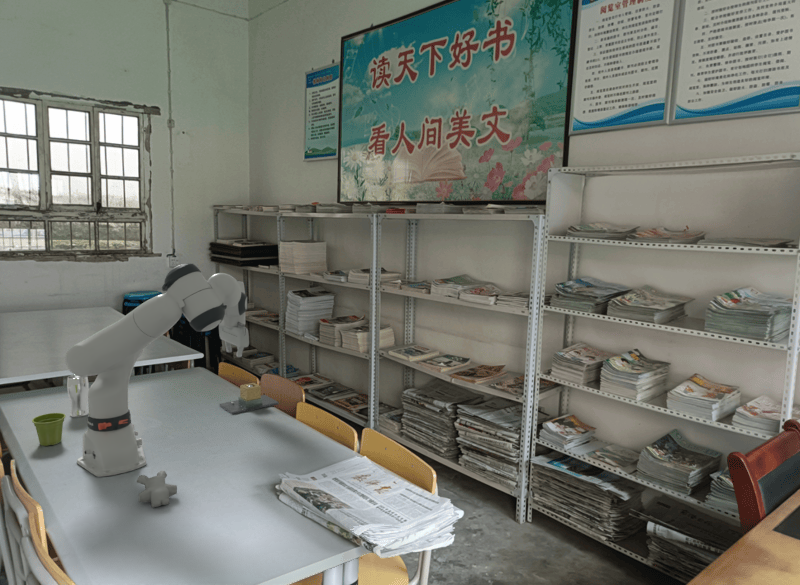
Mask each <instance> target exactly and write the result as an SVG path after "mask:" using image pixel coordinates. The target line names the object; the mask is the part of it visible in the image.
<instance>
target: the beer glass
mask: <svg viewBox="0 0 800 585" xmlns="http://www.w3.org/2000/svg"><path fill="white" fill-rule="evenodd" d="M88 378H89V376H76V375H74V374H71V375H68V376H67V382H66V383H67V384H66V388H67V389H66V390H67V395H68V399H69V402H70V414H69V416H70V417H72V418H81V417H85V416H88V414H89V407H88V391H89V388H90V386H89V385H90V384H89V379H88Z"/></svg>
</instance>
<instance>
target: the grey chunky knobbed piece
mask: <svg viewBox="0 0 800 585" xmlns="http://www.w3.org/2000/svg"><path fill="white" fill-rule="evenodd" d="M167 476H168V473H167V472H166V471H165V470H160V471H158V472H157V473H156V475H155V476H152V477H151V476H150V477H148V476H147V475H145V474H141V475H138V477H137V479H136V483H138V484H141V485H143V486H144V490H143V491H141V492H139V493H138V502H139V503H150V504H151V505H150V507H151V508H157V507H161V506H166V505H169V504H170V497H173V496H175V495H177V494H178V485H176V484H169V483H166V478H167Z"/></svg>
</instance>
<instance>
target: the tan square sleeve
mask: <svg viewBox="0 0 800 585" xmlns="http://www.w3.org/2000/svg"><path fill="white" fill-rule="evenodd" d="M248 385H253V387H249V388H248ZM239 386H240V388H239V394H240V395H239V397H241V398H243V399H244V400H246V401H250V400H254V399H259V398H261V395H262V392H261V388H262V387H261V385H259V384H257V383H255V382H251V383H245V384H241V385H239Z"/></svg>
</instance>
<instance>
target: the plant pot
mask: <svg viewBox="0 0 800 585" xmlns="http://www.w3.org/2000/svg"><path fill="white" fill-rule="evenodd" d="M65 419H66V414H65V413H63V412H52V413H44V414H41V415H38V416H35V417H34V418H32V420H31V423H33V425H34V427H35V431H36V434H37V437H38V438H37V439H38V442H39V444H40V446H44V447H47V446H48V447H49V446H50V445H53V446H54V445H57V444H59V443H61V442H62V439H63V438H62V437H63V429H64V428H63V427H64V421H65Z"/></svg>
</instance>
